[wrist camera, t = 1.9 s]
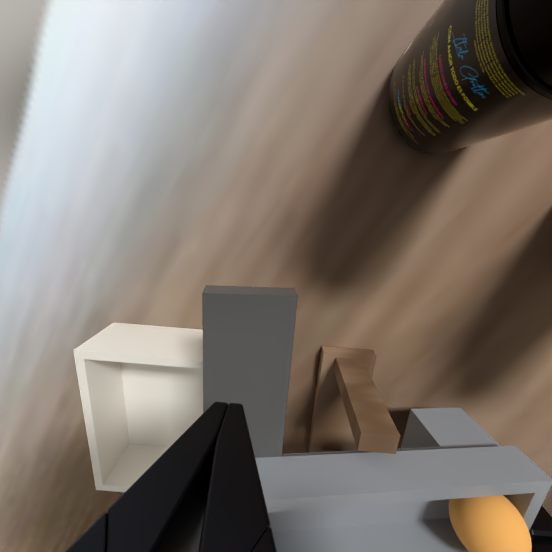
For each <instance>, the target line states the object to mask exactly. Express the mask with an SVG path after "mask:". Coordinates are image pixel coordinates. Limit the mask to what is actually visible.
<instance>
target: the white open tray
mask: <svg viewBox="0 0 552 552" xmlns="http://www.w3.org/2000/svg"><path fill="white" fill-rule="evenodd" d="M73 351H74V357H75V363H76V369H77V375H78V382H79V388H80V394H81V400H82V406H83V413H84V419H85V425H86V431H87V437H88V444H89V450H90V456H91V462H92V468H93V475H94V481H95V487H96V490H103V491H114V492H126V491H127V490H128V489H129V488H130V487H131V486H132V485H133V484H134V483H135V482H136V481H137V480H138V479H139V478H140V476H141V475H142V474H143V473H144V472H145V471H146V470H147V469H148V468H149V467H150V466H151V465H152V464H153V463H154V462H155V461H156V460H157V459H158V458H159V457H160V456H161V455H162V454H163V453H164V452H165V451H166V450H167V449H168V448H169V447H170V446H171V445H172V444H173V443H174V442H175V441H176V440H177V439H178V438H179V437H180V436H181V435H182V434H183V433H184V432H185V431H186V430H187V429H188V428H189V427H190V426H191V425H192V424H193V423H194V422H195V421H196V420H197V419H198V418H199V417H200V416H201V415H202V414H203V330H200V329H188V328H175V327H163V326H151V325H138V324H126V323H112V324H111V325H109V326H108V327H106V328H105V329H103V330H102V331H100V332H99V333H98V334H96V335H95V336H93V337H92V338H90V339H89V340H87V341H86V342H85V343H83V344H82V345H80V346H79V347H77V348H76V349H74V350H73Z"/></svg>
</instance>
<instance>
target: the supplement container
mask: <svg viewBox="0 0 552 552" xmlns="http://www.w3.org/2000/svg"><path fill="white" fill-rule="evenodd" d="M388 109H389V115H390V119H391V122H392V124H393V127H394V129H395V130H396V132H397V133H398V135H399V136H400V137H401V139H402V140H403V141H405V142H406V143H407V144H408V145H410V146H411V147H413V148H415V149H417V150H419V151H422V152H426V153H434V154H439V153H447V152H451V151H455V150H458V149H461V148H464V147H467V146H470V145H474V144H477V143H480V142H483V141H486V140H489V139H492V138H496V137H499V136H502V135H505V134H508V133H511V132H514V131H518V130H521V129H524V128H527V127H530V126H533V125H536V124H540V123H543V122H546V121H549V120H552V0H444V1H443V2H442V3H441V5H440V6H439V7H438V8H437V10H436V11H435V12H434V14H433V15H432V16H431V17H430V19H429V20H428V21H427V23H426V24H425V25H424V26H423V28H422V29H421V30H420V32H419V33H418V34H417V35H416V37H415V38H414V39H413V40H412V42H411V43H410V44H409V46H408V47H407V48H406V50H405V51H404V52H403V54H402V55H401V57H400V59H399V60H398V62H397V64H396V66H395V68H394V71H393V74H392V77H391V80H390V85H389V91H388Z"/></svg>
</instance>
